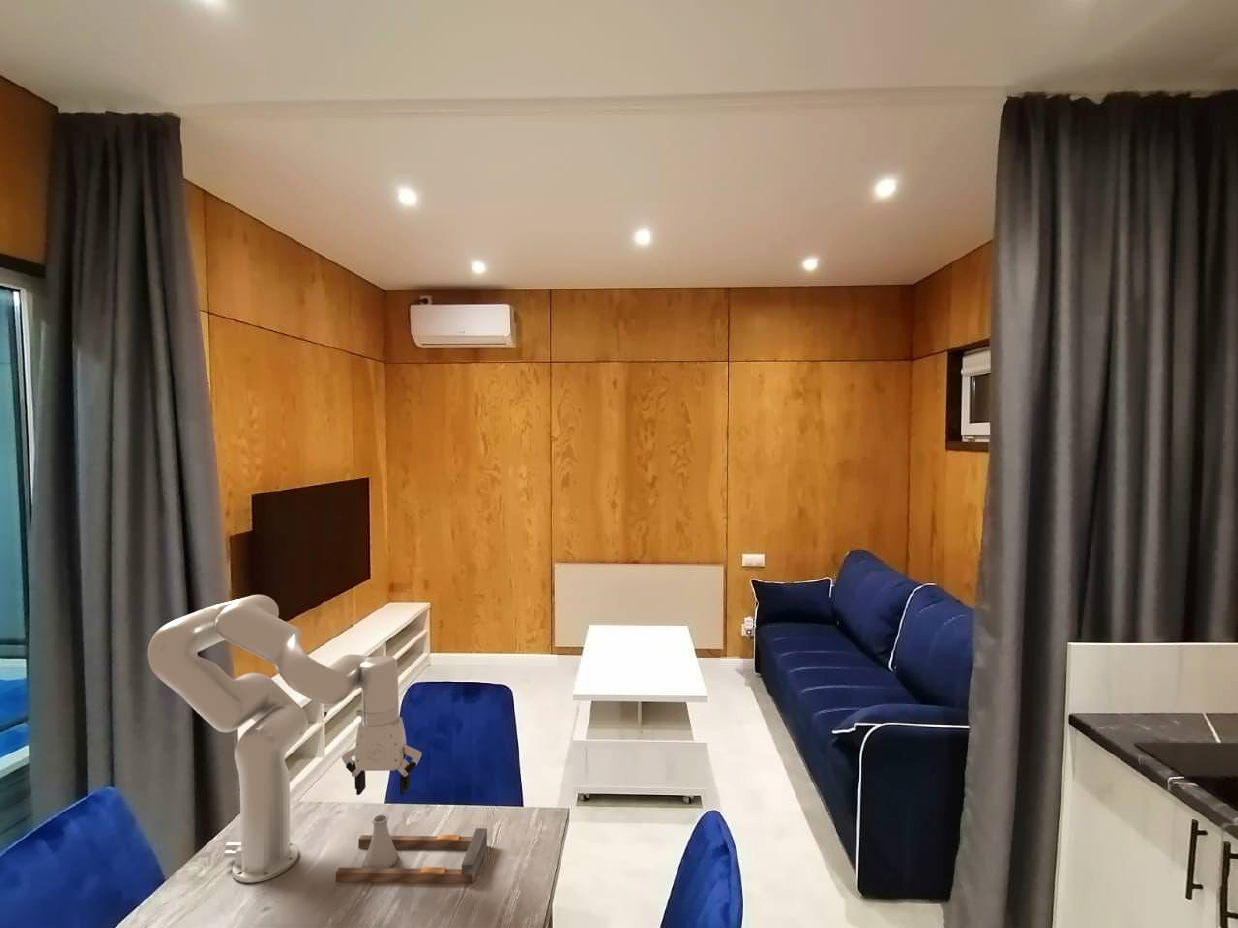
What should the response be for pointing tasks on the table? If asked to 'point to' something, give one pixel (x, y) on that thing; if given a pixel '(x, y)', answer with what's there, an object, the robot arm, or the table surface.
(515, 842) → the table surface
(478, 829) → the guide channel
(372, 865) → the flask
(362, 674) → the robot arm
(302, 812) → the table surface
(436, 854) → the table surface
